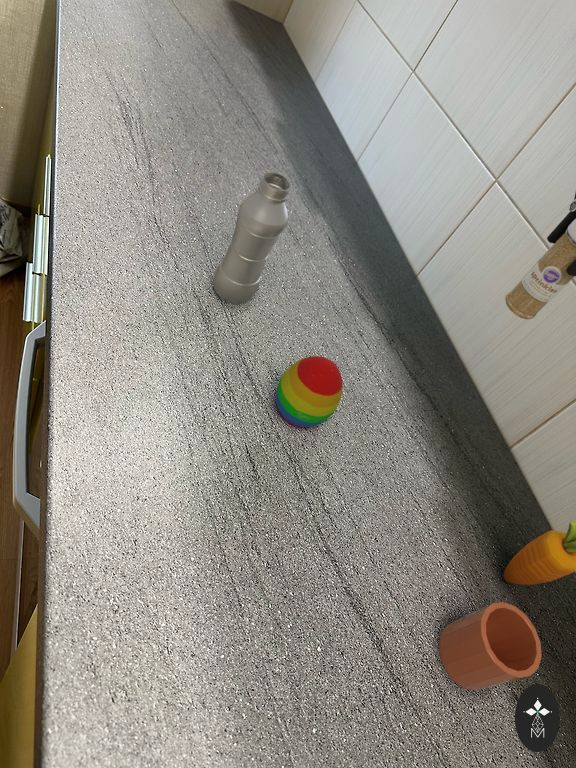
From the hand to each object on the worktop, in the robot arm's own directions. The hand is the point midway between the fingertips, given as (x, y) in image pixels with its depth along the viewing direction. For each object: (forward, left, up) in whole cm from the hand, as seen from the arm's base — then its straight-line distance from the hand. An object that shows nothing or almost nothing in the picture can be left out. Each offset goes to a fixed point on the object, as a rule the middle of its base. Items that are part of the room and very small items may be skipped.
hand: (567, 257), depth 67 cm
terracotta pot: (+9, +36, -29) cm, 47 cm away
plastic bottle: (+31, -16, -29) cm, 45 cm away
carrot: (0, +28, -29) cm, 41 cm away
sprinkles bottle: (0, 0, -9) cm, 9 cm away
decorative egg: (+24, +4, -29) cm, 38 cm away
